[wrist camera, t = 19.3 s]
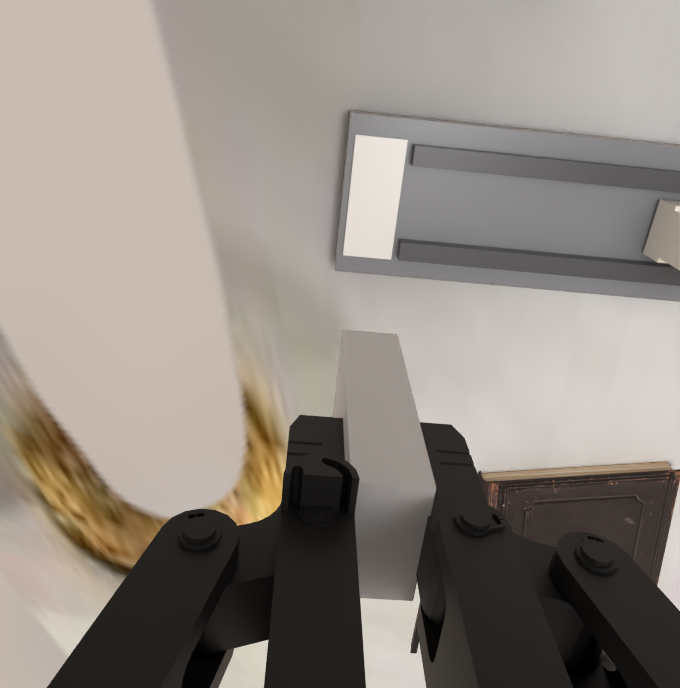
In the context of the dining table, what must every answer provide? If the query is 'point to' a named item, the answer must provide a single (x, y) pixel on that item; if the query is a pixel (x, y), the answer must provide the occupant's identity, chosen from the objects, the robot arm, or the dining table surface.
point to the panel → (504, 206)
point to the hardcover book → (591, 506)
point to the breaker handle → (665, 234)
